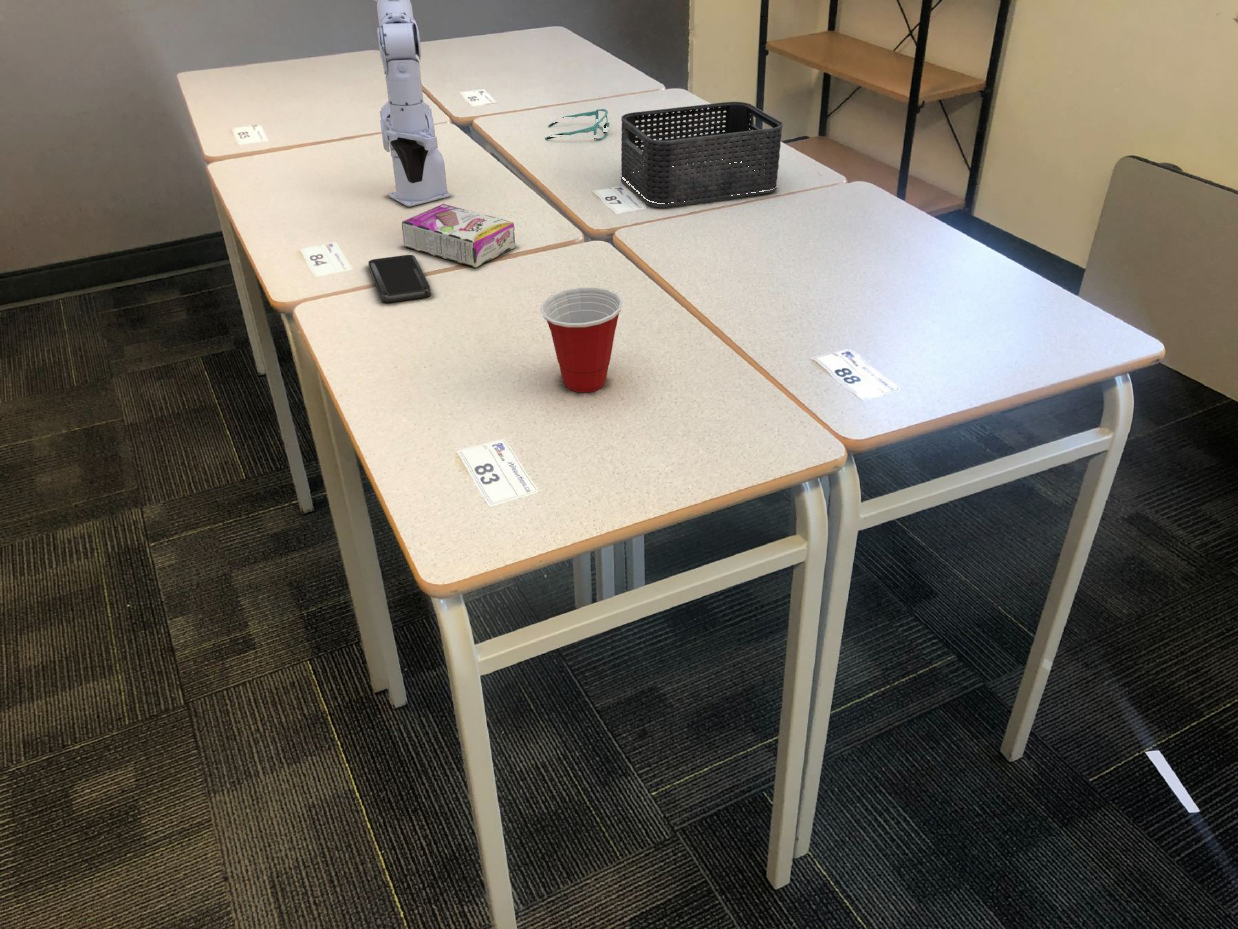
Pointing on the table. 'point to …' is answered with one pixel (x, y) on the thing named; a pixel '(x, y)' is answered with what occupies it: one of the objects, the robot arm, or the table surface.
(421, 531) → the table surface
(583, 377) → the plastic cup
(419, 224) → the candy bar box
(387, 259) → the phone
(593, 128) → the sunglasses
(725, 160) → the storage bin
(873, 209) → the table surface
